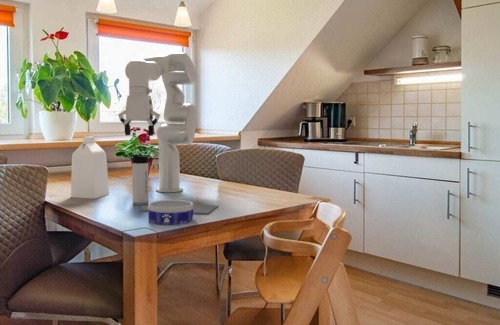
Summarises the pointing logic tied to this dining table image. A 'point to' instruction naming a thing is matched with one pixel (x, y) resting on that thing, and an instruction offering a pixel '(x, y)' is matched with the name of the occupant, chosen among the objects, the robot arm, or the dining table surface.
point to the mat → (197, 209)
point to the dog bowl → (170, 212)
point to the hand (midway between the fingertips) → (139, 135)
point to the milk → (89, 170)
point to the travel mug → (140, 180)
